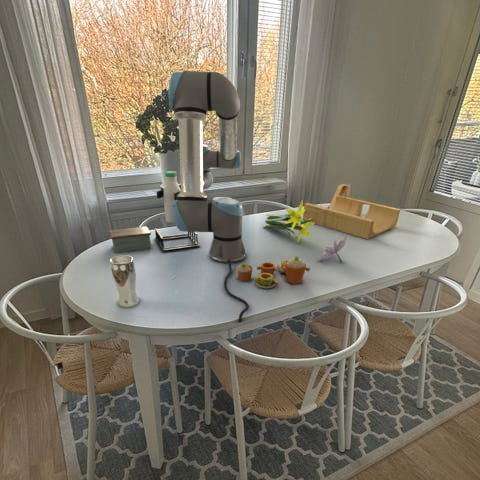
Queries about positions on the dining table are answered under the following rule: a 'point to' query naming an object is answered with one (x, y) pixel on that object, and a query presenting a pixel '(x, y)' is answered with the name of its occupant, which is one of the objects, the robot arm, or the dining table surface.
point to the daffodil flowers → (290, 221)
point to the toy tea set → (289, 267)
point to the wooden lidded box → (130, 239)
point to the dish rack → (178, 236)
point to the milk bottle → (170, 195)
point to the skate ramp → (352, 215)
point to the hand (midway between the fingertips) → (166, 196)
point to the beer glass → (125, 279)
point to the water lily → (337, 247)
